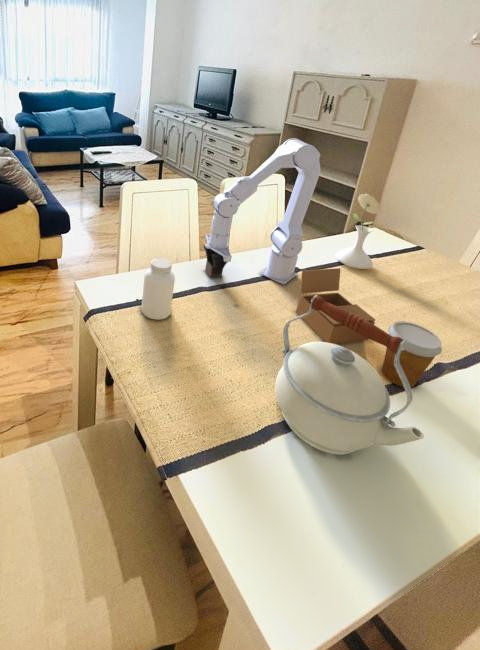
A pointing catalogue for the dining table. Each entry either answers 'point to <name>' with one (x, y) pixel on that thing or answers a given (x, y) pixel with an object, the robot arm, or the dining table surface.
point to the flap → (320, 280)
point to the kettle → (340, 390)
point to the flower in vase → (360, 237)
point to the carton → (328, 326)
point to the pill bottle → (158, 289)
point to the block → (211, 269)
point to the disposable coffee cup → (411, 352)
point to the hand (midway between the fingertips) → (213, 270)
